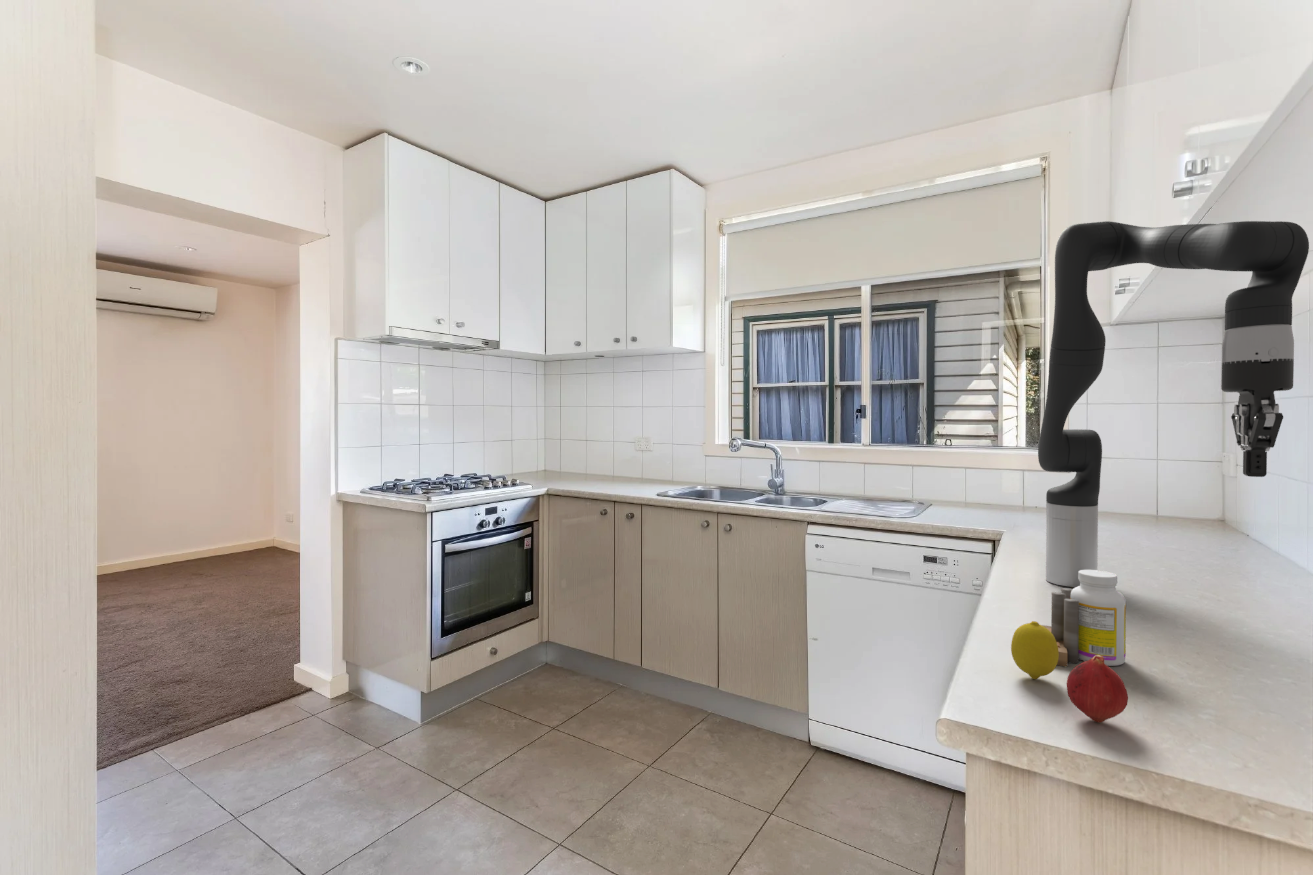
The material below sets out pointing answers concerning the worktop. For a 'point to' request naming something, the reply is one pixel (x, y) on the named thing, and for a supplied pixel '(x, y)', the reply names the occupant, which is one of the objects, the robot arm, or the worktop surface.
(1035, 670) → the lemon
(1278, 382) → the robot arm
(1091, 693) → the onion
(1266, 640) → the worktop surface
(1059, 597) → the pin block
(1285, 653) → the worktop surface
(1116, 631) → the supplement bottle
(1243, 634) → the worktop surface
